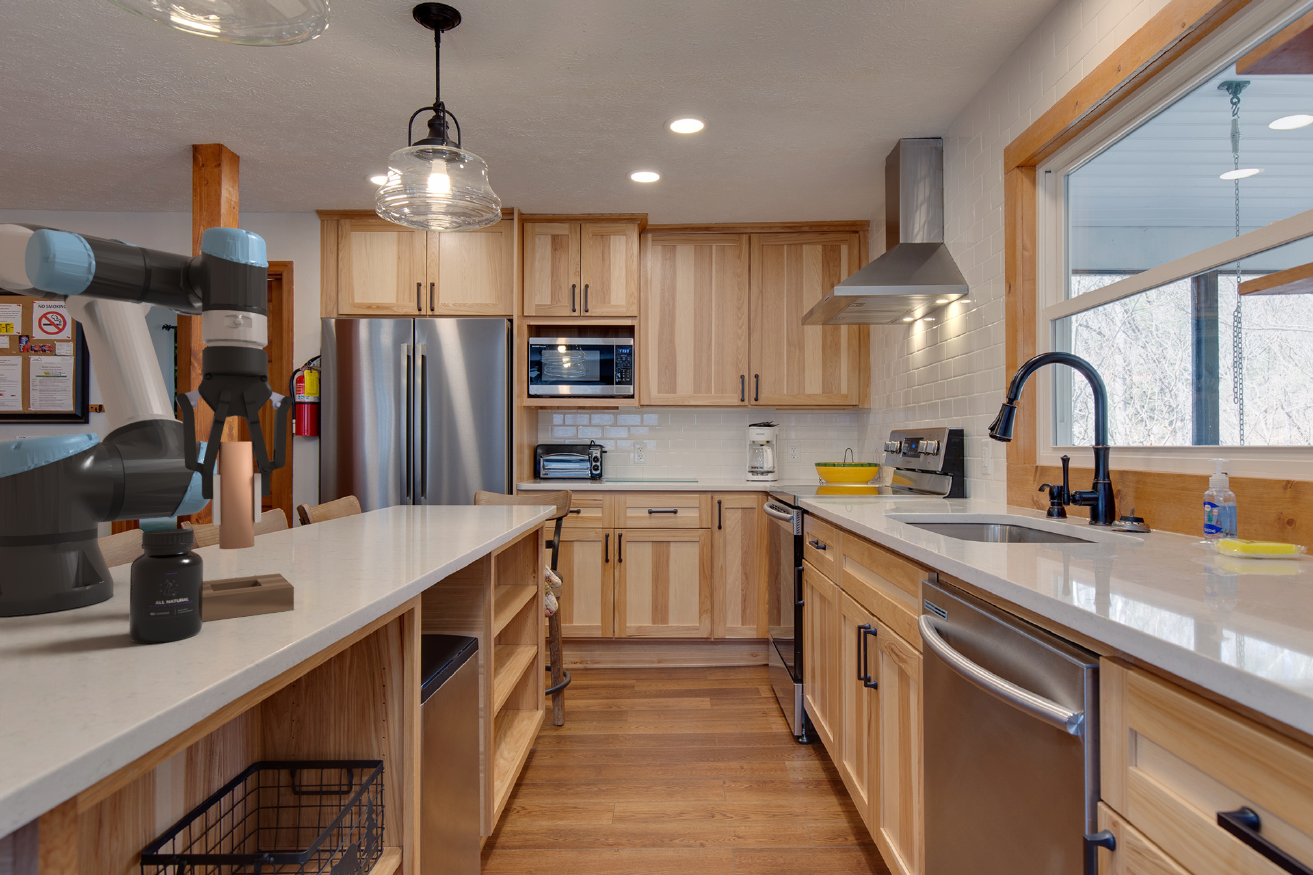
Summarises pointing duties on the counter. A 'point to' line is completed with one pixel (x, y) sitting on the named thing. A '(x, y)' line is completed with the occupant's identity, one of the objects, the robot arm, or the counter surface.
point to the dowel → (236, 495)
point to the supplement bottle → (166, 588)
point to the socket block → (246, 596)
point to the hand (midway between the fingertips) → (236, 522)
